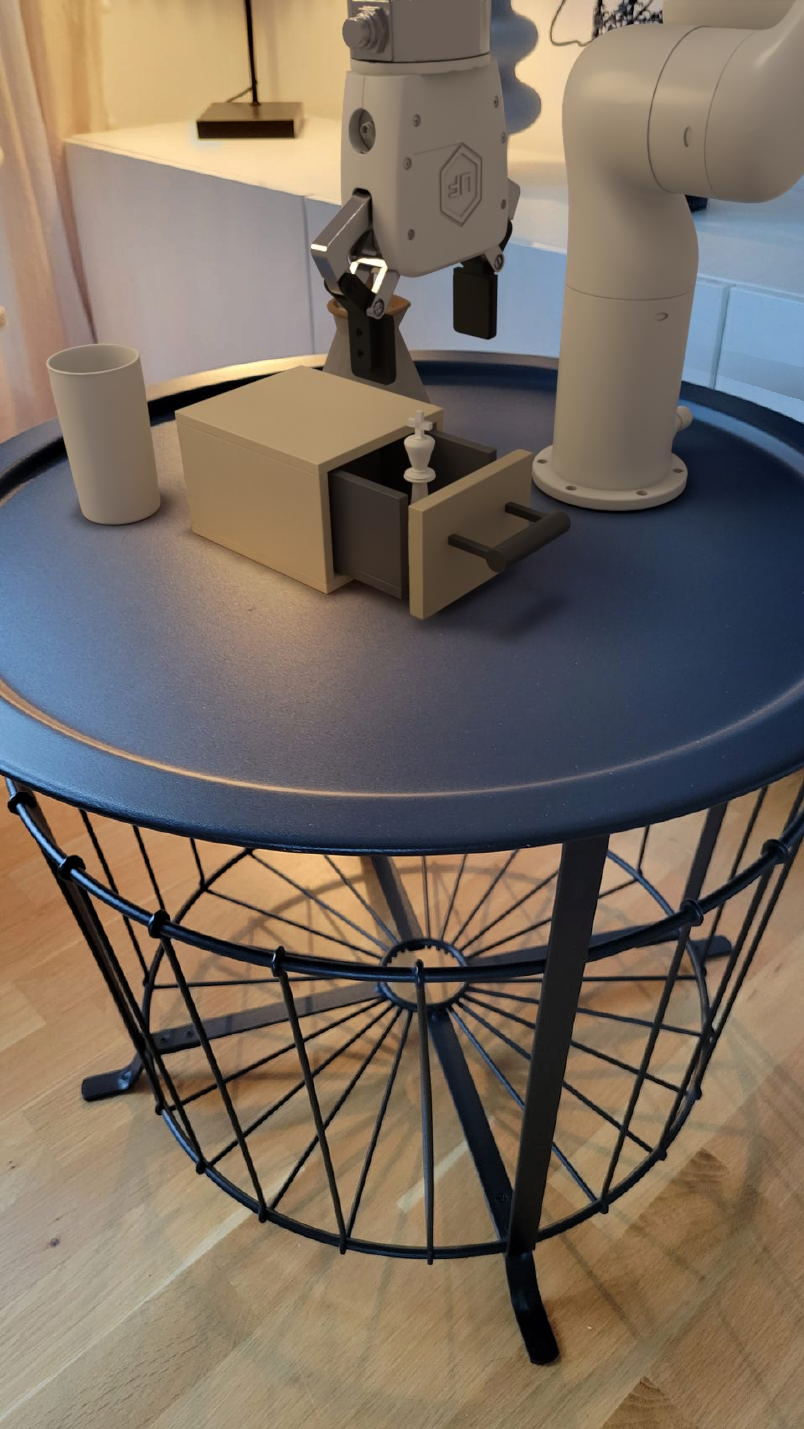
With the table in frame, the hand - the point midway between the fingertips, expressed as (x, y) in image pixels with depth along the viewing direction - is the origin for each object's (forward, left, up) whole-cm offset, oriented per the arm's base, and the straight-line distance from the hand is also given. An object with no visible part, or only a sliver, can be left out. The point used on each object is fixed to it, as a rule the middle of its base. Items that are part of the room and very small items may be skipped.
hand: (426, 356), depth 66 cm
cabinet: (+1, -11, -15) cm, 19 cm away
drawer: (+1, +1, -15) cm, 15 cm away
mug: (+7, -27, -16) cm, 32 cm away
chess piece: (+1, 0, -14) cm, 14 cm away
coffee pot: (-16, -21, -16) cm, 31 cm away
